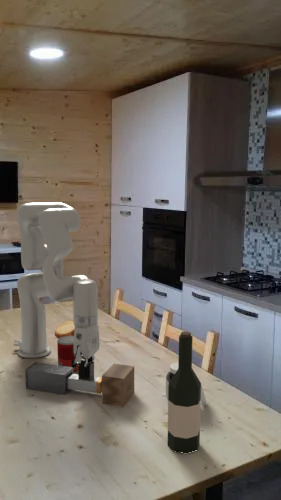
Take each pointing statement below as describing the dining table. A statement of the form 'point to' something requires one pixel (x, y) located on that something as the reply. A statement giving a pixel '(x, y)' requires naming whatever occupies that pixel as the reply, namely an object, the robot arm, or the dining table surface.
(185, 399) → the wine bottle
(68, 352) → the canned food
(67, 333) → the slice of bread
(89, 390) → the steel bar
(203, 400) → the white mug
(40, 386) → the sleeve
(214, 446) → the dining table surface
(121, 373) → the socket block
